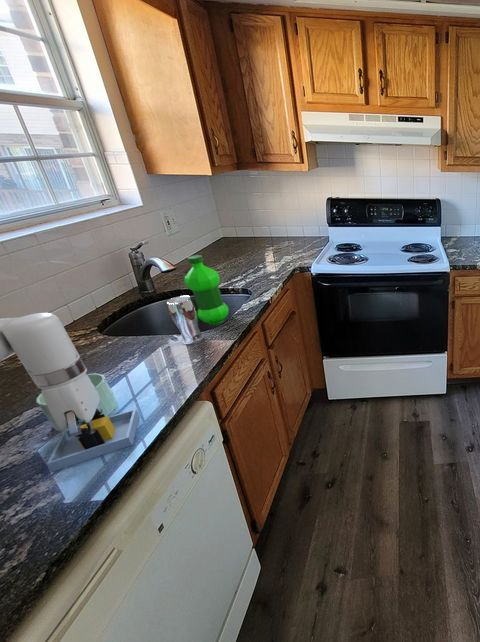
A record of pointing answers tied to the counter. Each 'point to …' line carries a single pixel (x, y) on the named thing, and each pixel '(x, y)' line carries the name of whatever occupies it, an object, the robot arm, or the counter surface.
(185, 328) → the beer glass
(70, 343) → the robot arm
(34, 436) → the counter surface
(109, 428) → the sponge
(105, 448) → the tray
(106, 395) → the bowl
